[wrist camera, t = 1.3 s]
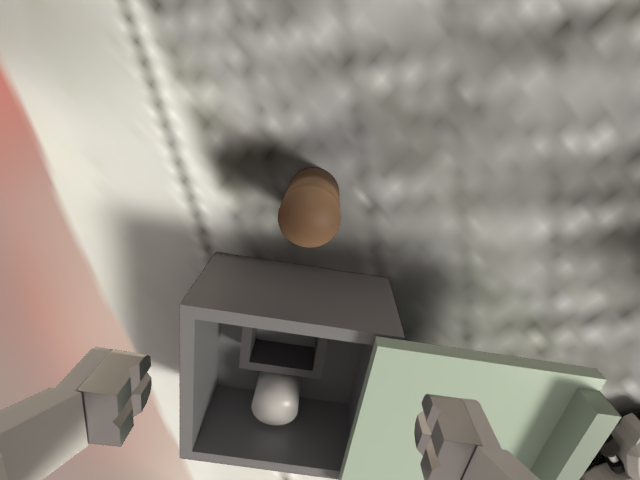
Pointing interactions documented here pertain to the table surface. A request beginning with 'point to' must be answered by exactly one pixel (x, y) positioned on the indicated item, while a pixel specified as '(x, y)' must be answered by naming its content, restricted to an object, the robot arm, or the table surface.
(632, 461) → the robot toy
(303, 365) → the housing
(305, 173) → the brown rounded cylinder
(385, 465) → the lid
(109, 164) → the table surface
